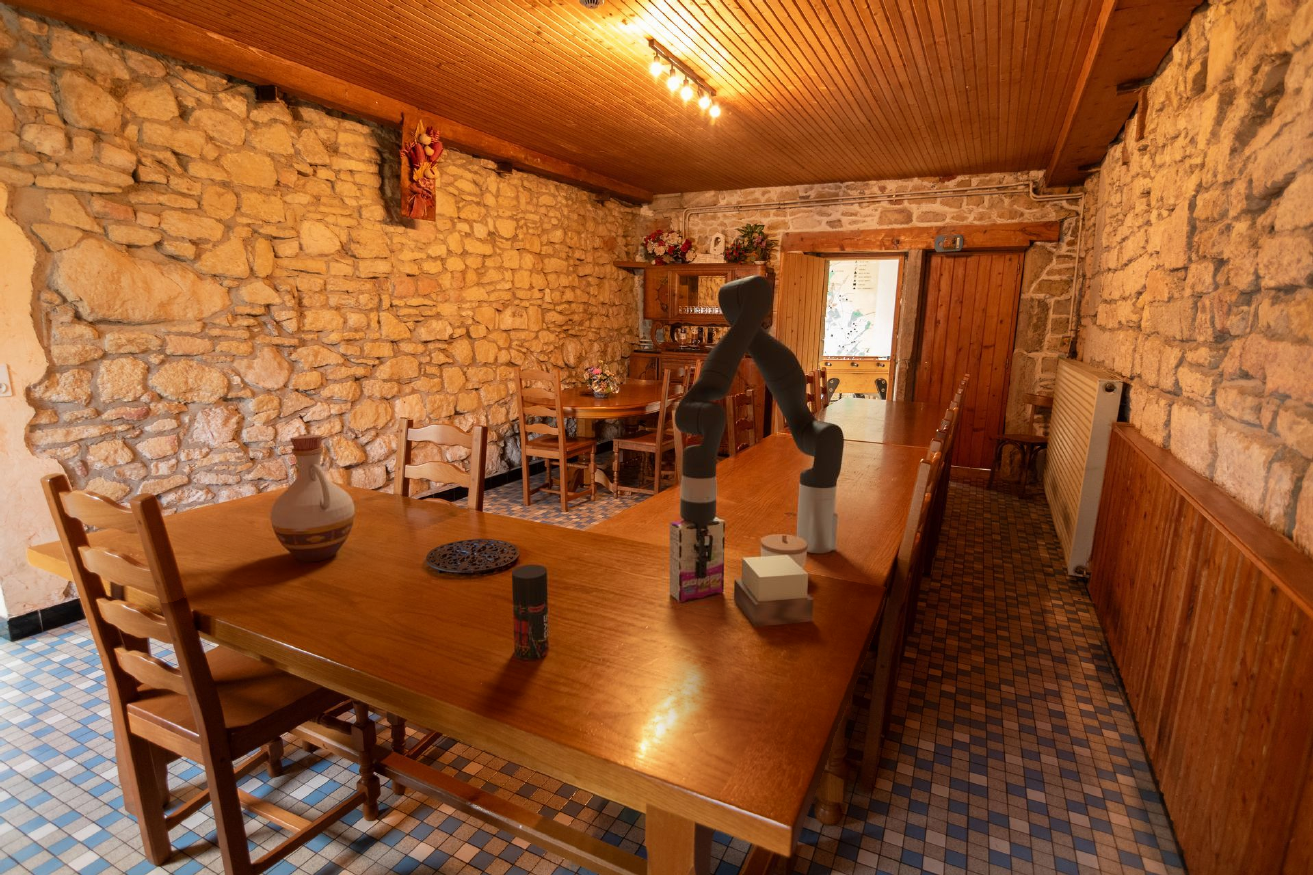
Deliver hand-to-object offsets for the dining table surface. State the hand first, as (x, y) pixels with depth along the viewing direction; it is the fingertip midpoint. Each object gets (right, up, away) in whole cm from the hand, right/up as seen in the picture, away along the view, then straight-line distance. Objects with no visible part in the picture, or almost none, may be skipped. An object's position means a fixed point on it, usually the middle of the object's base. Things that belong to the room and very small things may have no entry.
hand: (696, 571), depth 131 cm
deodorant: (-31, -9, -23) cm, 39 cm away
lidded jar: (+21, -3, +13) cm, 25 cm away
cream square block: (+15, -2, -7) cm, 17 cm away
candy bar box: (0, -5, +1) cm, 5 cm away
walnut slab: (+15, -7, -6) cm, 17 cm away
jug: (-91, -1, +19) cm, 93 cm away
